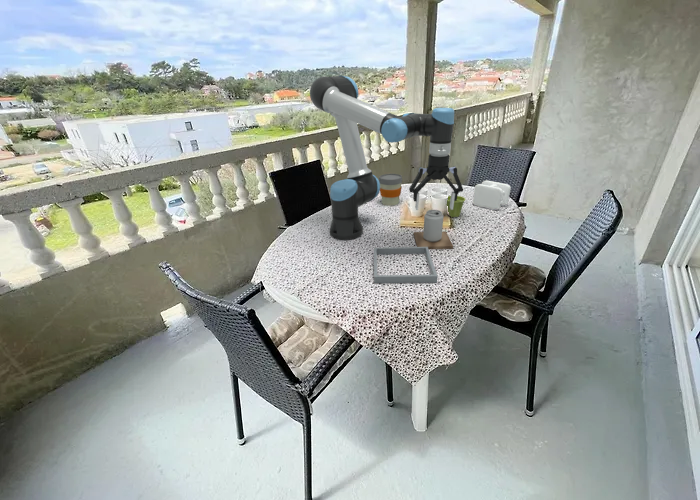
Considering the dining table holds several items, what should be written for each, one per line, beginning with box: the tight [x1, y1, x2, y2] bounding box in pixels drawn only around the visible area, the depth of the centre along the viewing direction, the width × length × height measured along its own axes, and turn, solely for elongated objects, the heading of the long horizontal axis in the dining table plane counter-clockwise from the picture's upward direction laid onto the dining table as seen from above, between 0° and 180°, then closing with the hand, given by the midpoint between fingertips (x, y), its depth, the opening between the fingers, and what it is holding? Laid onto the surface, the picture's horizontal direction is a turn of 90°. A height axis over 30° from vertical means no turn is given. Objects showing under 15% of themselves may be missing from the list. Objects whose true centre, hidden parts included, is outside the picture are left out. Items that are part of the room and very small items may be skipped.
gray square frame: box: [373, 246, 438, 284], centre depth 114 cm, size 21×21×2 cm
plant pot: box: [446, 195, 466, 218], centre depth 153 cm, size 9×9×9 cm
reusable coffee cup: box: [378, 173, 403, 207], centre depth 171 cm, size 13×12×15 cm
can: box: [422, 209, 444, 242], centre depth 128 cm, size 8×8×12 cm
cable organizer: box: [472, 179, 511, 211], centre depth 161 cm, size 15×11×12 cm
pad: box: [412, 230, 454, 250], centre depth 131 cm, size 14×14×1 cm
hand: (433, 208), depth 125 cm, fingers open, 13 cm apart
